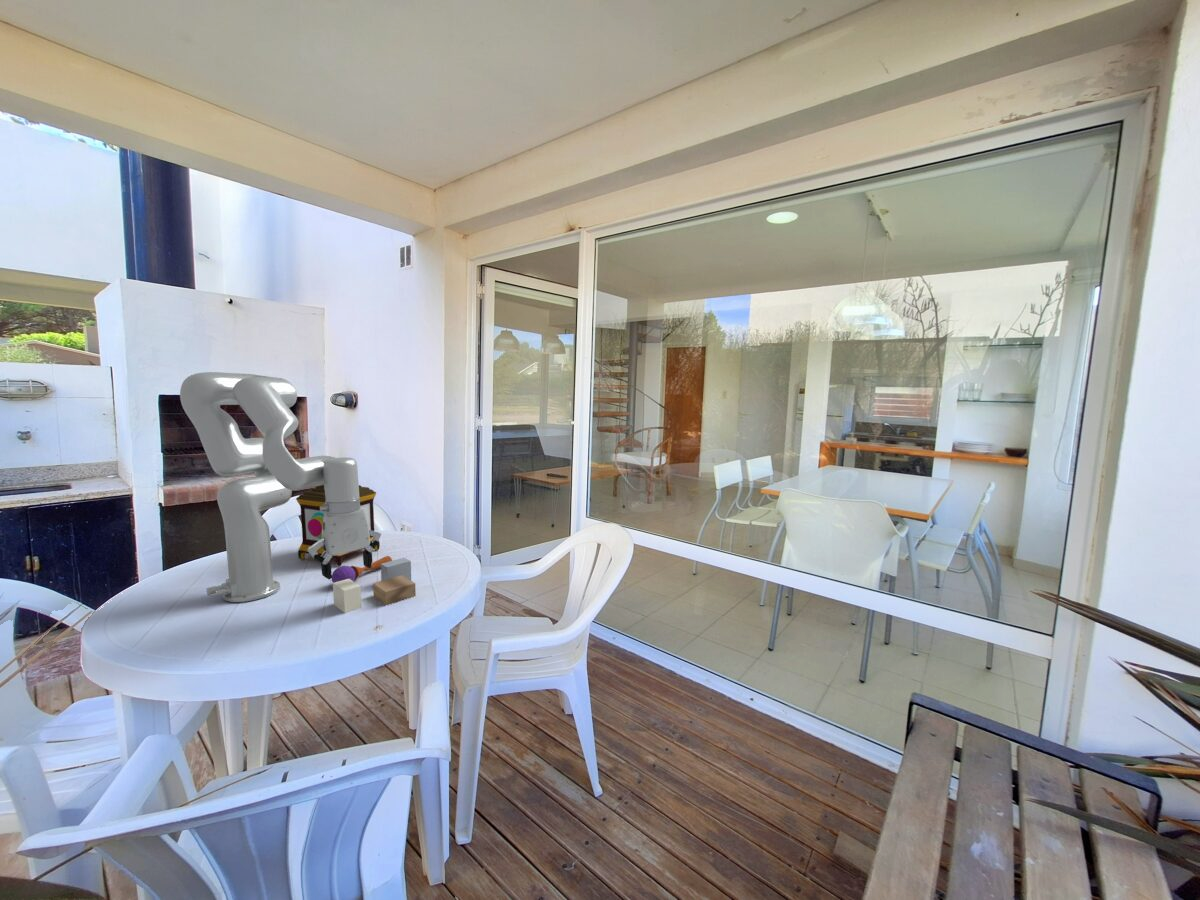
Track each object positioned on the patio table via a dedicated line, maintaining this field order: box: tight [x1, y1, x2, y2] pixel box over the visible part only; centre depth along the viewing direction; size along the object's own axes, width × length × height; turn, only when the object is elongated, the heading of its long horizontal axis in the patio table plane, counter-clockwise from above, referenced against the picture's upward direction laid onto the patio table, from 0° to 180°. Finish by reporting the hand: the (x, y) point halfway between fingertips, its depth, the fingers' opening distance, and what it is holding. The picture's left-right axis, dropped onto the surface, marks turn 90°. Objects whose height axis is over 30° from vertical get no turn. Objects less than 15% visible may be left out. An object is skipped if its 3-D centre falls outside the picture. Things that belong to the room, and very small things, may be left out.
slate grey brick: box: [380, 557, 412, 581], centre depth 138 cm, size 7×4×6 cm, turn 140°
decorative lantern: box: [295, 484, 381, 567], centre depth 157 cm, size 20×20×30 cm
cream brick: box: [332, 579, 362, 614], centre depth 122 cm, size 7×4×6 cm, turn 50°
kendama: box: [331, 555, 393, 584], centre depth 141 cm, size 6×6×20 cm
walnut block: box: [372, 575, 417, 606], centre depth 128 cm, size 8×8×4 cm
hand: (348, 572), depth 121 cm, fingers open, 9 cm apart
